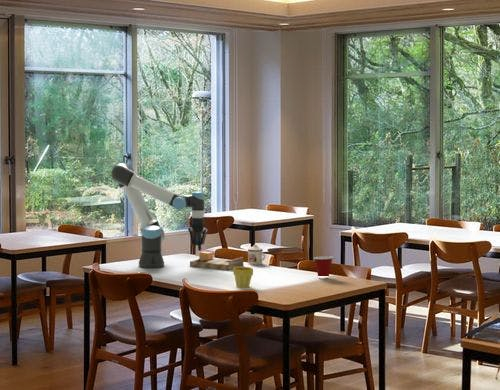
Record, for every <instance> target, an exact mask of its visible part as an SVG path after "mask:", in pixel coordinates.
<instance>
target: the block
mask: <svg viewBox="0 0 500 390" xmlns="http://www.w3.org/2000/svg"><path fill="white" fill-rule="evenodd" d="M198 259H202V260H210V259H214V252H213V251H200V253H199V256H198Z"/></svg>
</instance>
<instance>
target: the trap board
mask: <svg viewBox="0 0 500 390" xmlns="http://www.w3.org/2000/svg"><path fill="white" fill-rule="evenodd" d="M244 259H245V258H244V256H241V257H237V258H235V259H222V258H213V259H210V260H202V259H199V258H198V259H194V260H190V261H189V267H192V268H203V269H212V270H213V269H214V270H224V271H231V270H232V271H233V269H234V268H235V267H242V266H243V267H244Z"/></svg>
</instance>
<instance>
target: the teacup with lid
mask: <svg viewBox="0 0 500 390" xmlns="http://www.w3.org/2000/svg"><path fill="white" fill-rule="evenodd" d="M265 259H266V254H265V253H264V252H263V248H262V247H260V246H258V245H257V244H253V246H251V247H248V248H247V264H248V263H249V264H248V265H251V264H253V265H252V266H255V265H256V266H257V265H262V264H263V262H264V260H265Z"/></svg>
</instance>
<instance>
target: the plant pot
mask: <svg viewBox="0 0 500 390" xmlns="http://www.w3.org/2000/svg"><path fill="white" fill-rule="evenodd" d="M232 271H233V273H232V274H233V275H234V279H235V285H236V287H237V288H240V289H241V288H242V289H247V288H246V287H248V288H250V284H251V280H252V276H253V275H254V268H253V267H249V266H248V267H247V266H243V267H235V268H234V269H232Z"/></svg>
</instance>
